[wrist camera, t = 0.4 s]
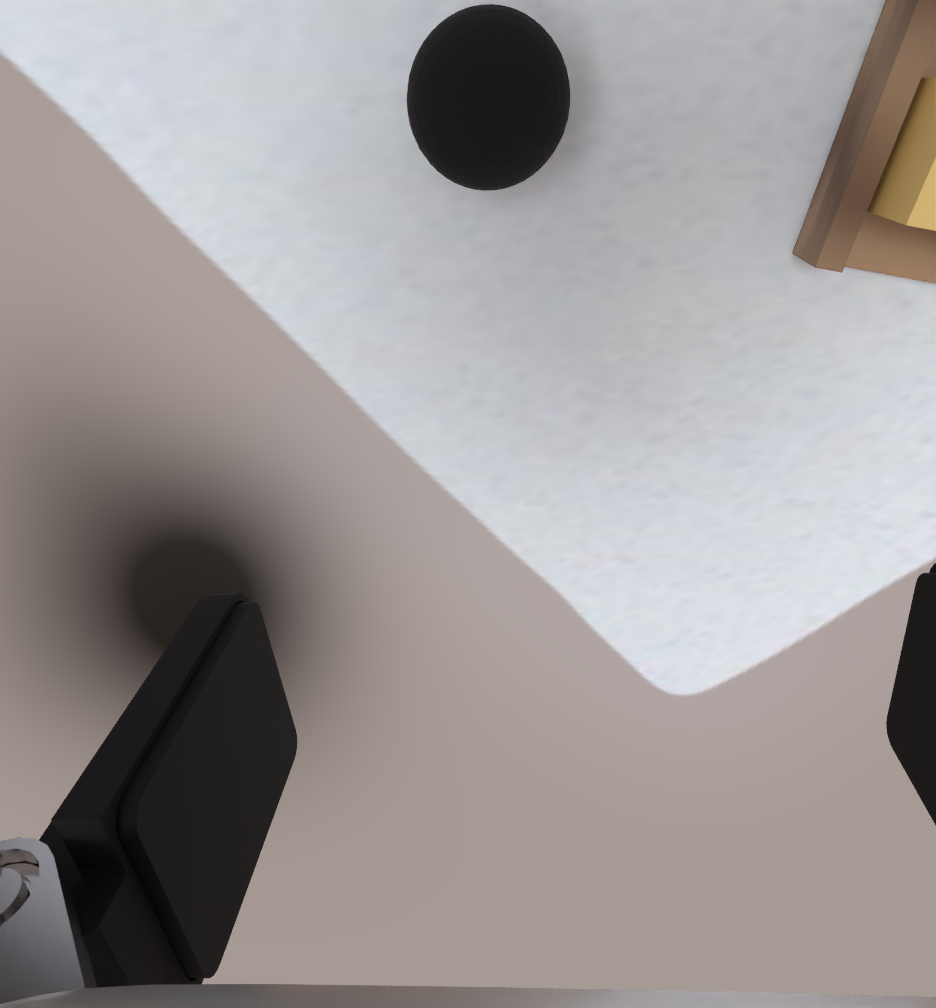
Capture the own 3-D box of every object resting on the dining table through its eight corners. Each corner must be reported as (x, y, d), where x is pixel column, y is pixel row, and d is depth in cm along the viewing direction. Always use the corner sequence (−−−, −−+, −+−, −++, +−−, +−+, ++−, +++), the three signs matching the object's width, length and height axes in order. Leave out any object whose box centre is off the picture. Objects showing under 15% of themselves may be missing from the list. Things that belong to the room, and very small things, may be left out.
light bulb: (589, 71, 32) (610, 64, 23) (518, 197, 35) (513, 232, 26) (472, -9, 31) (449, -48, 22) (408, 127, 34) (364, 139, 25)
